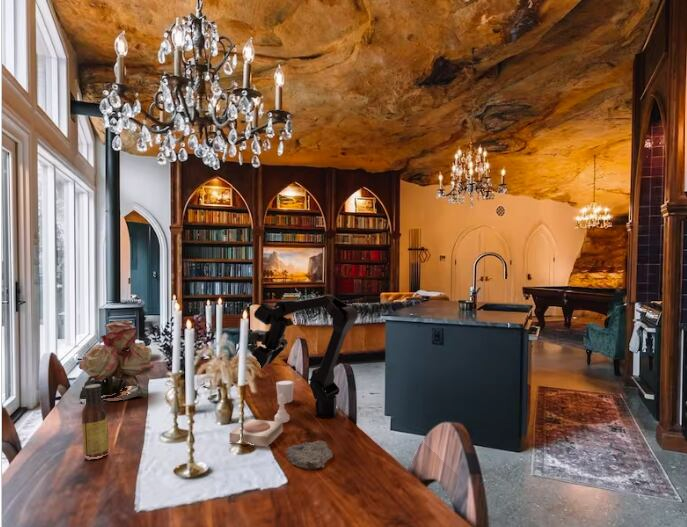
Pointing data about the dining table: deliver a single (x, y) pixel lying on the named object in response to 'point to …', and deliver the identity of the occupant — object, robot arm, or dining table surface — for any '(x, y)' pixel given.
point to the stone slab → (309, 454)
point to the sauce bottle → (94, 423)
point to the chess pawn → (282, 410)
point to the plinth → (258, 432)
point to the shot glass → (285, 389)
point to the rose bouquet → (117, 361)
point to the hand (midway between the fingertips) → (263, 367)
